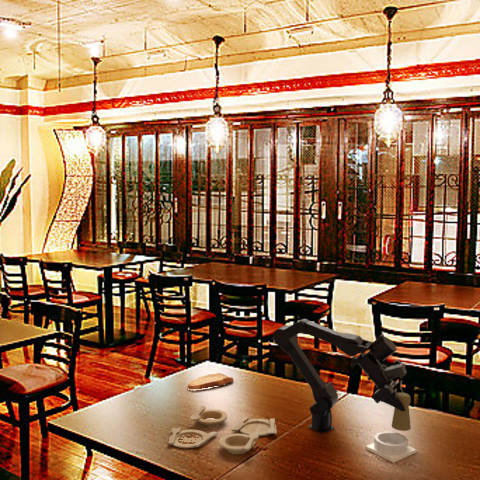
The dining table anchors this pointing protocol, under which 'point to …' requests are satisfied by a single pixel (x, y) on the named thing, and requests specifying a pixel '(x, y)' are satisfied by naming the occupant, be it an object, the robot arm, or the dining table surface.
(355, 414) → the dining table surface
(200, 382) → the bread slice
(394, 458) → the guard dock
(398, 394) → the cork
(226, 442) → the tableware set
